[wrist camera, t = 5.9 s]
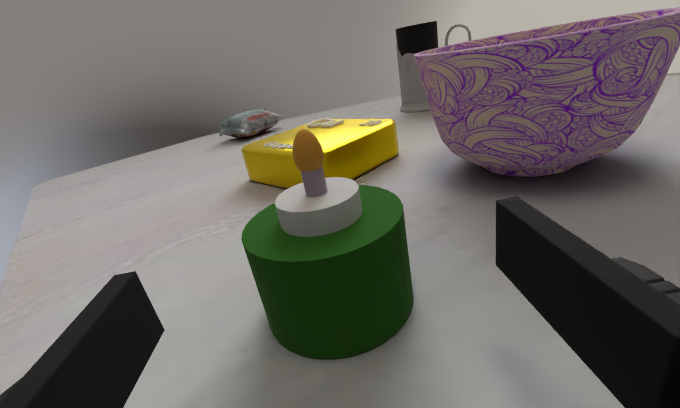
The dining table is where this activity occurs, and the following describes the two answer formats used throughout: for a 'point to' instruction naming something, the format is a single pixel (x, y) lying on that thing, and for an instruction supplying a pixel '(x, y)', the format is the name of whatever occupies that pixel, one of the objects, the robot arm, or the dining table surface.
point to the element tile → (324, 150)
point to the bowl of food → (549, 90)
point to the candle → (330, 261)
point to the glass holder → (407, 46)
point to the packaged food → (249, 123)
